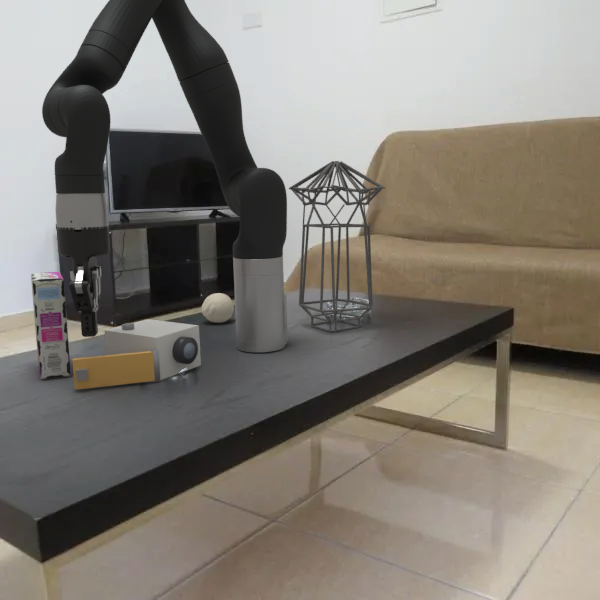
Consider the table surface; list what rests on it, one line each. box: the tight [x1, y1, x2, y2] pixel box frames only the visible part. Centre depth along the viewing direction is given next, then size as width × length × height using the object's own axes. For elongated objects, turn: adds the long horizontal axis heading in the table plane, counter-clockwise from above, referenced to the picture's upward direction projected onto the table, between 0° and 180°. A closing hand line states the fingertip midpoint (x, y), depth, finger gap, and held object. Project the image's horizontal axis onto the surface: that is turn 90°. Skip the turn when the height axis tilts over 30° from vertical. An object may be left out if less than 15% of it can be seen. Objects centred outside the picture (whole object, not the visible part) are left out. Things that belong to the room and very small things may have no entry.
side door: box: [71, 349, 162, 390], centre depth 100 cm, size 13×2×5 cm, turn 108°
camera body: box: [103, 318, 202, 381], centre depth 109 cm, size 10×14×8 cm
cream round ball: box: [201, 292, 235, 324], centre depth 145 cm, size 7×7×7 cm
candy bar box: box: [30, 271, 72, 380], centre depth 109 cm, size 11×5×16 cm, turn 23°
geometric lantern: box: [288, 160, 386, 333], centre depth 136 cm, size 16×16×35 cm
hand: (90, 335), depth 101 cm, fingers closed
